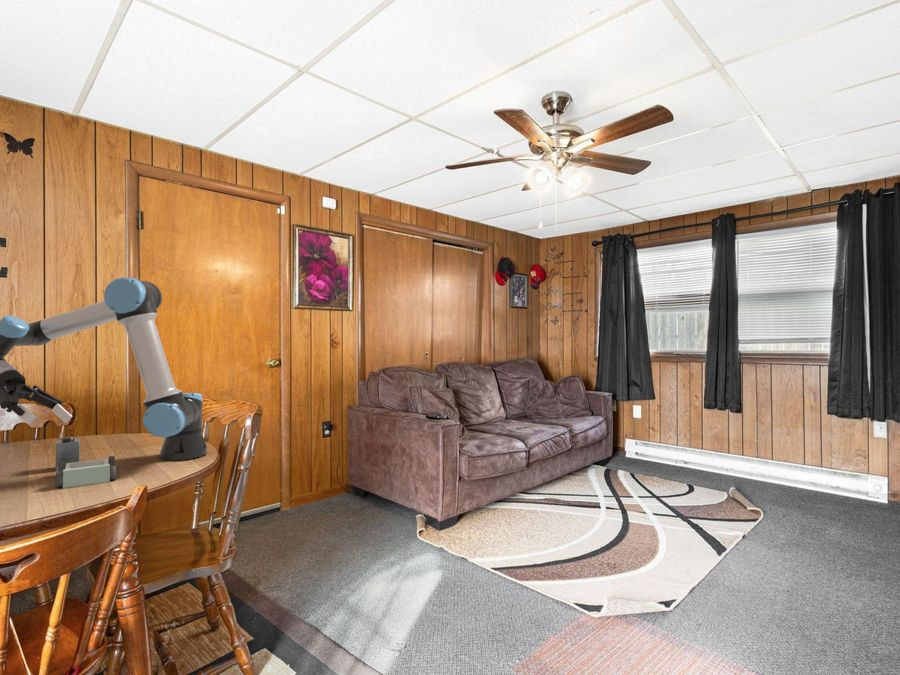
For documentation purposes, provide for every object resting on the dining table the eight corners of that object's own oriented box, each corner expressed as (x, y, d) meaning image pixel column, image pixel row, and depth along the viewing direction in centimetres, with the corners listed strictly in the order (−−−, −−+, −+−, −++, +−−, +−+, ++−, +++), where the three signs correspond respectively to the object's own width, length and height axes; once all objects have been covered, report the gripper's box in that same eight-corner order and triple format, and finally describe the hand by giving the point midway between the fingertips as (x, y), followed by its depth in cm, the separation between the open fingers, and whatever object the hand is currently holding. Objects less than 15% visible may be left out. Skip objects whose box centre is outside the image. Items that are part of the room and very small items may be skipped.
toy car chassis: (59, 474, 152) (59, 458, 152) (114, 467, 161) (114, 452, 161) (55, 489, 139) (55, 471, 138) (116, 481, 147) (116, 464, 147)
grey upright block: (56, 467, 160) (57, 437, 160) (79, 464, 164) (79, 435, 164) (55, 471, 155) (55, 440, 155) (79, 468, 159) (79, 438, 159)
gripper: (30, 388, 166) (74, 428, 164) (-45, 386, 141) (6, 432, 139) (46, 371, 166) (90, 410, 164) (-27, 365, 142) (24, 411, 140)
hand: (51, 420), depth 151 cm, fingers open, 13 cm apart
